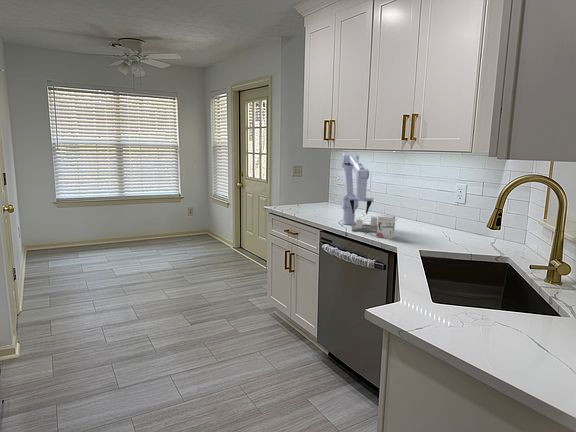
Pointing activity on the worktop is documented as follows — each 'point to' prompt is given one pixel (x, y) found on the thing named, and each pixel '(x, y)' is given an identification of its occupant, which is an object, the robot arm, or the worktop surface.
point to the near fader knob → (359, 223)
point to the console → (364, 228)
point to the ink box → (386, 226)
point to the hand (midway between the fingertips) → (359, 213)
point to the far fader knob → (373, 221)
